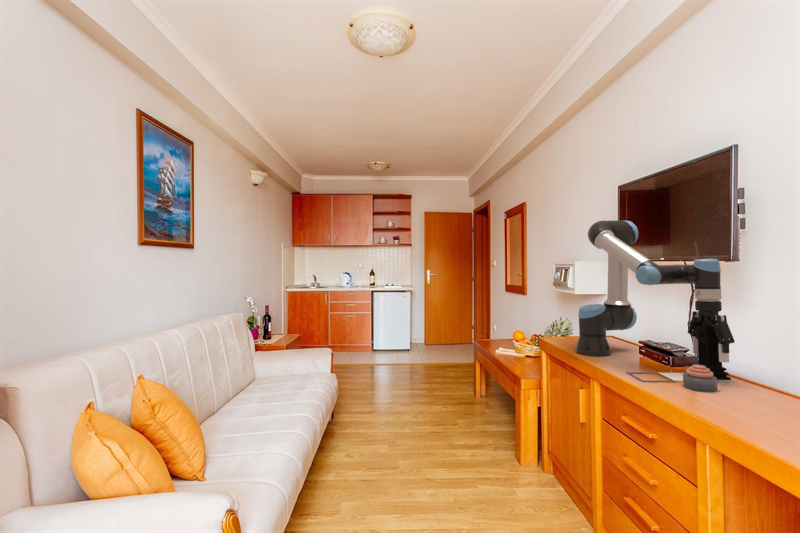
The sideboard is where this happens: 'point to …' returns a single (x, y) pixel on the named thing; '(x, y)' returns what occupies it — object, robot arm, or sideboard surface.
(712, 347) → the chess piece
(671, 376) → the board
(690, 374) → the pink swirled mound
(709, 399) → the sideboard surface
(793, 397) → the sideboard surface
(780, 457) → the sideboard surface
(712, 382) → the base
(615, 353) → the sideboard surface
